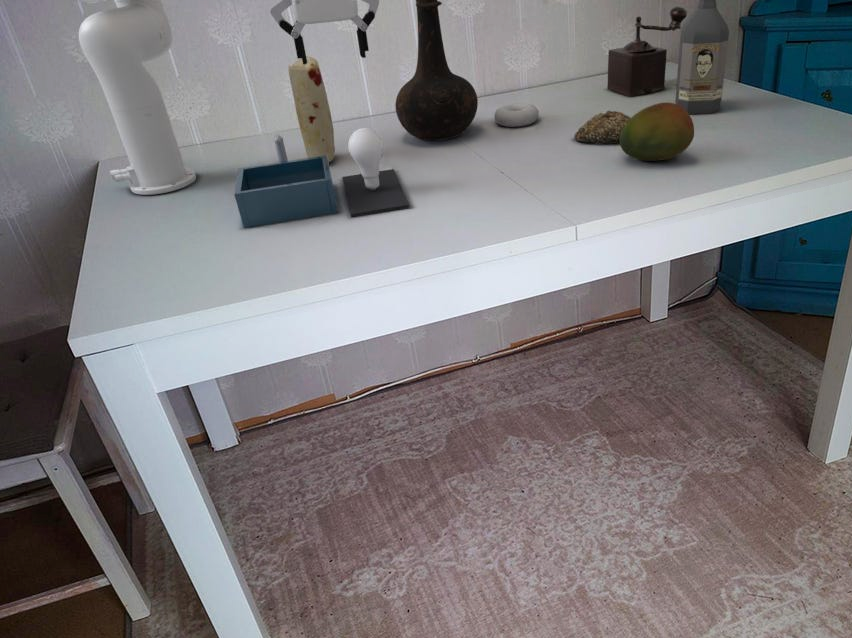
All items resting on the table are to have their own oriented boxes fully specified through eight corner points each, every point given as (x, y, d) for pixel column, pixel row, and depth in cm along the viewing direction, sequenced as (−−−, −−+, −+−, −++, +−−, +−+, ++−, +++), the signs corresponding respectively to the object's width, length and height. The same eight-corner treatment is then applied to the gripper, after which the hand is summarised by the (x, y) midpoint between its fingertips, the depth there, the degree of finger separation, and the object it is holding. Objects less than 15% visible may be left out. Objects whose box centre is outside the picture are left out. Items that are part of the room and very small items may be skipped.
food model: (341, 164, 142) (321, 60, 131) (308, 170, 141) (285, 65, 130) (337, 151, 150) (318, 51, 139) (306, 156, 149) (284, 56, 138)
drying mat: (351, 217, 118) (350, 213, 118) (342, 179, 134) (342, 176, 134) (409, 207, 120) (409, 204, 119) (394, 171, 136) (393, 168, 136)
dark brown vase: (404, 152, 146) (384, 3, 130) (395, 129, 160) (376, -7, 145) (487, 140, 148) (477, -7, 132) (471, 119, 163) (460, -16, 147)
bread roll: (632, 146, 138) (633, 120, 135) (570, 144, 141) (570, 119, 139) (641, 127, 147) (643, 103, 145) (584, 126, 151) (584, 102, 148)
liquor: (674, 104, 160) (685, -47, 143) (715, 102, 159) (732, -50, 142) (677, 115, 153) (690, -42, 136) (721, 113, 151) (739, -46, 134)
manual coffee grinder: (631, 97, 167) (634, 15, 157) (606, 89, 176) (608, 10, 166) (684, 87, 172) (691, 6, 162) (657, 79, 181) (662, 2, 171)
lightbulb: (396, 187, 127) (387, 126, 121) (371, 198, 123) (360, 135, 117) (375, 181, 130) (365, 121, 124) (349, 191, 127) (338, 130, 121)
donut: (525, 131, 152) (546, 117, 159) (524, 115, 150) (546, 102, 157) (486, 127, 157) (509, 114, 164) (485, 111, 155) (508, 99, 162)
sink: (243, 228, 118) (226, 166, 112) (247, 196, 131) (231, 139, 125) (338, 212, 120) (326, 151, 114) (332, 182, 133) (321, 126, 127)
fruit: (700, 163, 127) (706, 106, 121) (637, 175, 124) (640, 117, 119) (668, 146, 136) (672, 92, 130) (609, 156, 134) (611, 102, 128)
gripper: (367, -66, 111) (383, 50, 120) (257, -57, 108) (281, 61, 118) (372, -64, 105) (388, 58, 114) (255, -54, 102) (281, 70, 112)
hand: (334, 59), depth 116 cm, fingers open, 9 cm apart
